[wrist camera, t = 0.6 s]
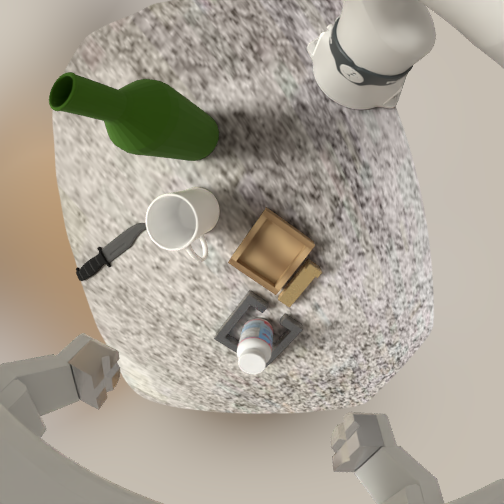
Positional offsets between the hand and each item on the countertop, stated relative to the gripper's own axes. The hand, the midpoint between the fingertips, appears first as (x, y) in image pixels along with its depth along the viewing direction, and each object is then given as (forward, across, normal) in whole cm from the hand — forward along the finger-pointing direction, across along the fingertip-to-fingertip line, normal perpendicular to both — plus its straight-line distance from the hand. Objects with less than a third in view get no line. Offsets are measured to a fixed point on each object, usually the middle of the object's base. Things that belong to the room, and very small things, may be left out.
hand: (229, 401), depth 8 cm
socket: (+40, -3, +22) cm, 46 cm away
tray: (+40, -1, +6) cm, 40 cm away
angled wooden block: (+40, -8, +10) cm, 42 cm away
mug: (+40, +12, +4) cm, 42 cm away
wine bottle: (+40, +17, -10) cm, 45 cm away
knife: (+41, +31, +15) cm, 53 cm away
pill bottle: (+40, -3, +22) cm, 46 cm away
